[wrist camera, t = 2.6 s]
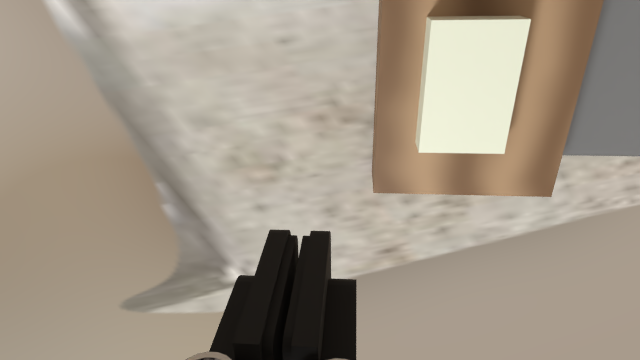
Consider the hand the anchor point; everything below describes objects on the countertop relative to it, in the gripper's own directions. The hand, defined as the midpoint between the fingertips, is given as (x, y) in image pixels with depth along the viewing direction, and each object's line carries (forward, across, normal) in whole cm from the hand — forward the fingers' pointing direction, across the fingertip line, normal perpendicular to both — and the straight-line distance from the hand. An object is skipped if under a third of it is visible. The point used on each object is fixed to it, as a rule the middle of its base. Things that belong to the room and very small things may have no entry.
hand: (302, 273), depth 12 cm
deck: (+25, -10, -2) cm, 27 cm away
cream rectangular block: (+21, -9, 0) cm, 23 cm away
